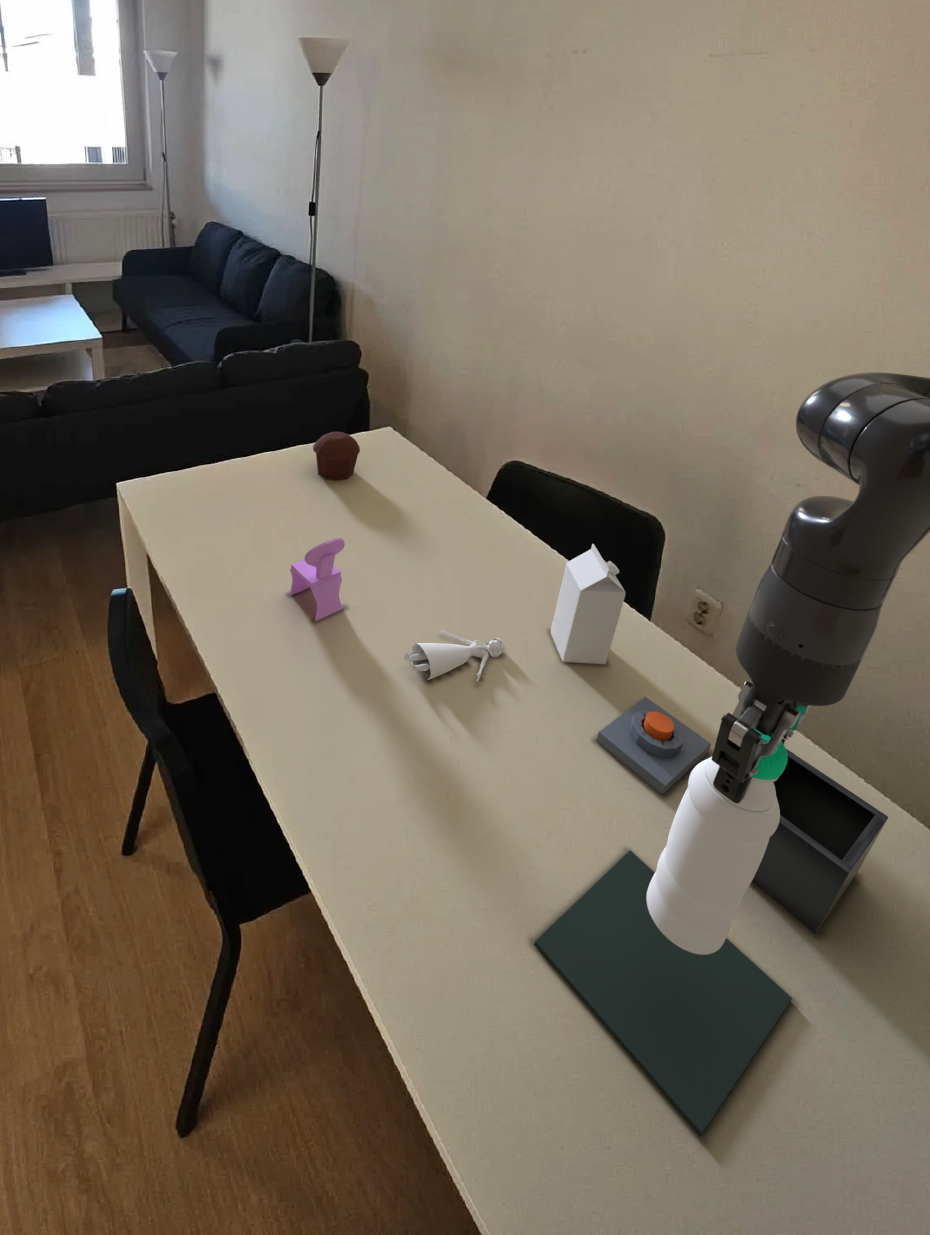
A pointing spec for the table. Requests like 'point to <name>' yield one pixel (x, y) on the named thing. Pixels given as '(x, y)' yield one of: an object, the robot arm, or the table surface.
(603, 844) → the table surface
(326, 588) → the toy chair
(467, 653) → the woman figurine
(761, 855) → the water bottle
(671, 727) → the button
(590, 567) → the milk carton
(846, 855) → the dark grey storage bin
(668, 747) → the control block
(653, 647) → the table surface
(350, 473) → the muffin
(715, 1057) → the mat
